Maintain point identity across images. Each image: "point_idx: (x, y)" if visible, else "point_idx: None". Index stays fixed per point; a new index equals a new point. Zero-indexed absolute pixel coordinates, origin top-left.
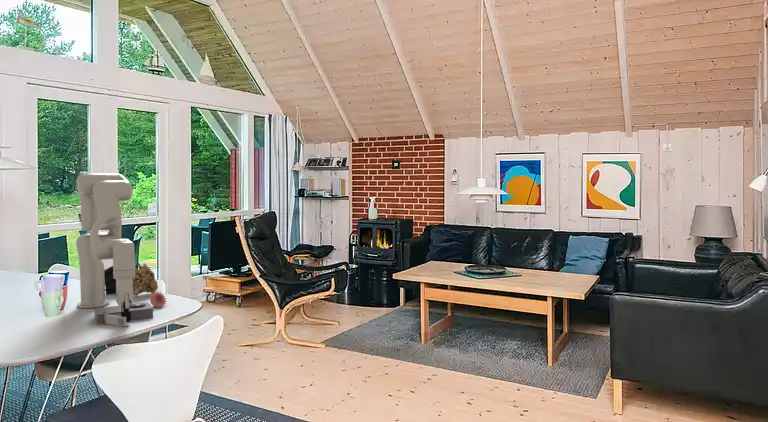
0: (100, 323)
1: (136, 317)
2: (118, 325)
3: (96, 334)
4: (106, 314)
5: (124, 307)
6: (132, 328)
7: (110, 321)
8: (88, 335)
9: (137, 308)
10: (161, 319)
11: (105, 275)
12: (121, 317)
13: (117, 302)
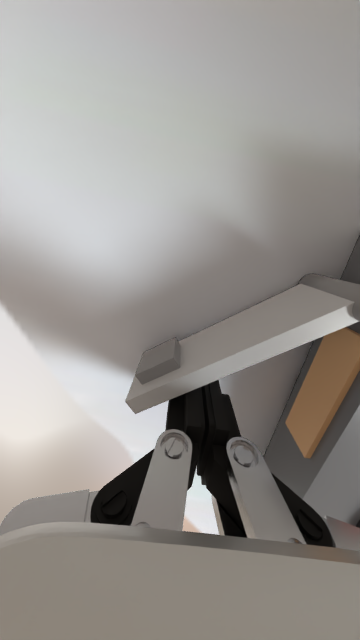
0: (356, 253)
1: (277, 448)
2: (187, 337)
3: (36, 144)
4: (356, 311)
5: (91, 510)
6: (87, 379)
7: (263, 311)
8: (30, 62)
9: (341, 514)
10: (187, 498)
11: None
12: (154, 386)
13: (184, 589)
